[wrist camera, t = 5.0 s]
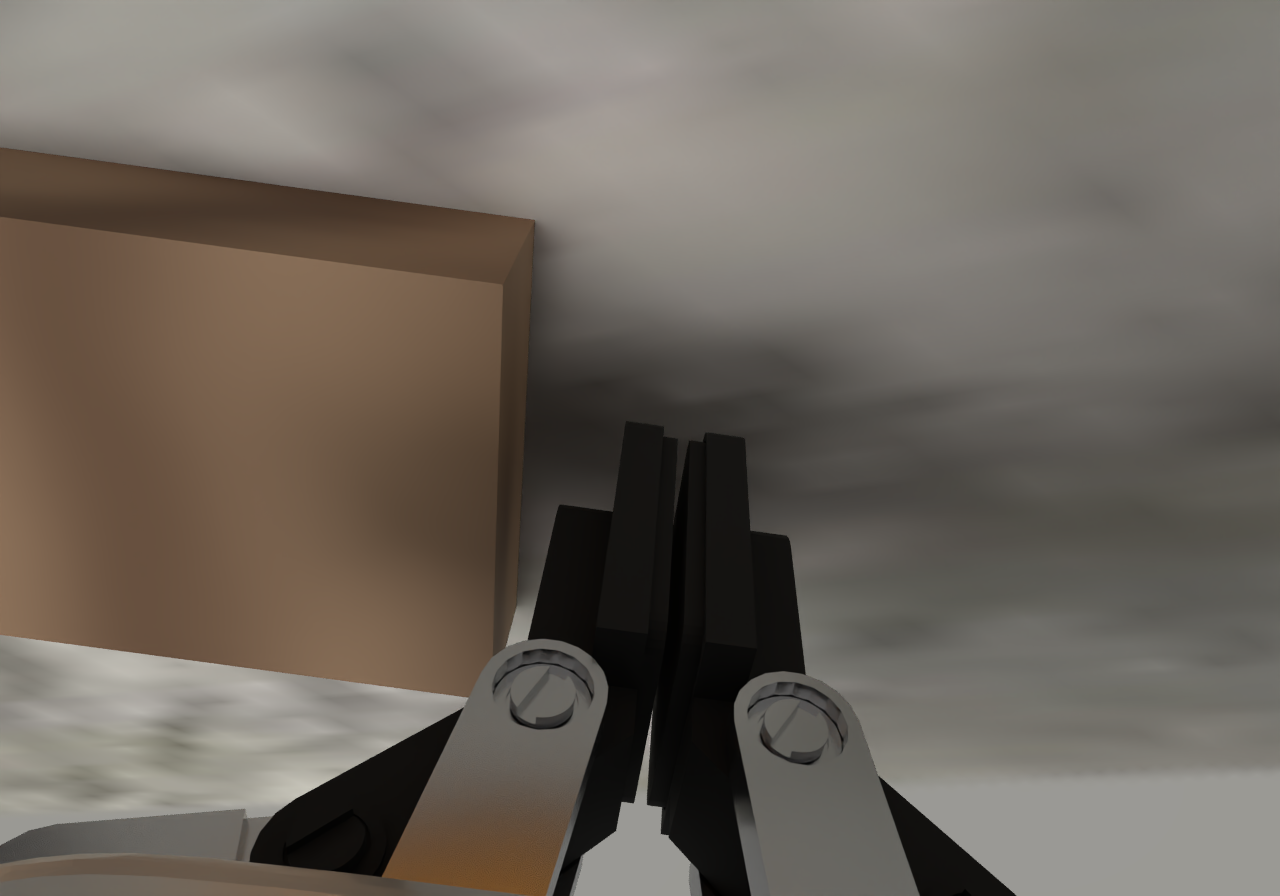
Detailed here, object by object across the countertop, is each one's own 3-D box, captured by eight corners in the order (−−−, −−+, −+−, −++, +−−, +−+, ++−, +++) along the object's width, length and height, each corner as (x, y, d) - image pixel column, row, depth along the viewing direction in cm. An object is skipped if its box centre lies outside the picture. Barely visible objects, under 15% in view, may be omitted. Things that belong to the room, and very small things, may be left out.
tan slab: (539, 209, 12) (502, 284, 10) (521, 589, 16) (491, 701, 14) (-125, 119, 12) (-301, 176, 10) (19, 522, 16) (-85, 623, 14)
